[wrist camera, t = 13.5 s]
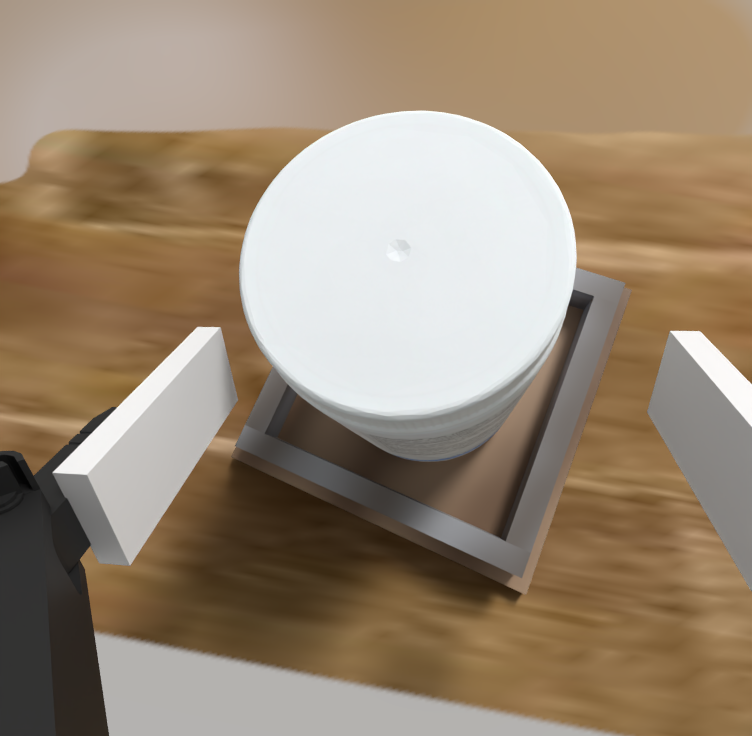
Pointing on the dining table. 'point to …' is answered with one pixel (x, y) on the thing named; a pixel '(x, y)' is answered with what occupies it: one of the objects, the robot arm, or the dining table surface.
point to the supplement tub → (410, 278)
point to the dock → (462, 474)
